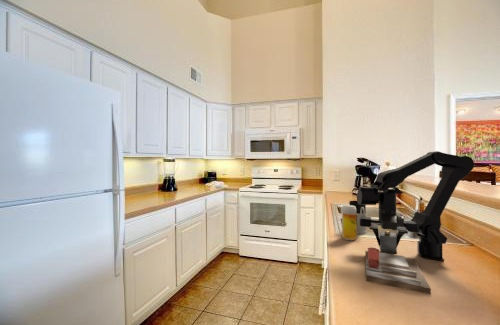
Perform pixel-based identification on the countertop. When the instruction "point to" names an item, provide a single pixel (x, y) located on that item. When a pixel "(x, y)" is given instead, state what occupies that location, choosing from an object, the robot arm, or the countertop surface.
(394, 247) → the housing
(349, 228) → the beer can
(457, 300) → the countertop surface
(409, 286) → the base
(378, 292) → the countertop surface
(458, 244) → the countertop surface
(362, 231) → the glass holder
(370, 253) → the lever
